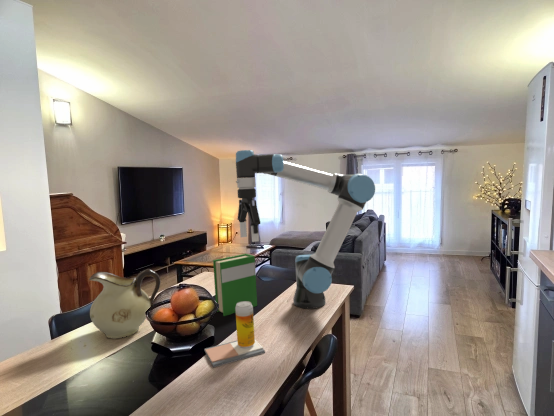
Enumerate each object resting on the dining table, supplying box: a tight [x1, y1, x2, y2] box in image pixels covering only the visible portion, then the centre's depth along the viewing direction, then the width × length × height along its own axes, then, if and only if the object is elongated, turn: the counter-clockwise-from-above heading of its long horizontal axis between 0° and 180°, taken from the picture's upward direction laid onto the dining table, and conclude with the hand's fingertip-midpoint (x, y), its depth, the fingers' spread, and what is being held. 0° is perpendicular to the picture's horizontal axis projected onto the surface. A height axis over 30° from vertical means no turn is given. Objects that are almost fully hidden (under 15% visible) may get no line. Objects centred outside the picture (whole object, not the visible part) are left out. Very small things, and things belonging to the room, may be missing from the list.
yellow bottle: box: [235, 301, 256, 348], centre depth 120 cm, size 6×6×15 cm
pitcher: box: [88, 268, 161, 339], centre depth 139 cm, size 22×24×25 cm
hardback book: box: [212, 253, 258, 317], centre depth 158 cm, size 18×7×24 cm, turn 127°
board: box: [204, 338, 266, 368], centre depth 119 cm, size 18×12×1 cm, turn 115°
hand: (249, 239), depth 143 cm, fingers open, 13 cm apart
